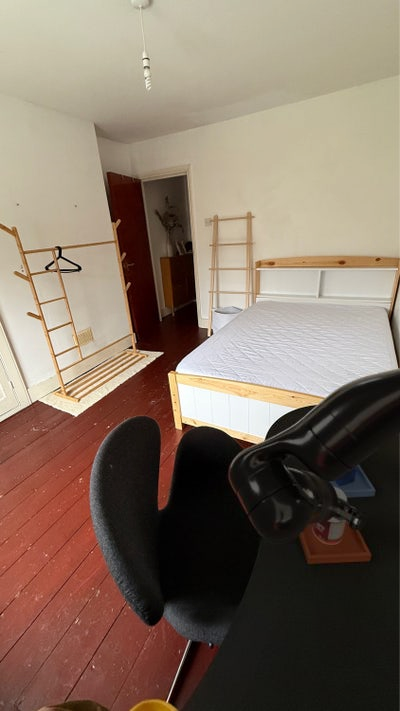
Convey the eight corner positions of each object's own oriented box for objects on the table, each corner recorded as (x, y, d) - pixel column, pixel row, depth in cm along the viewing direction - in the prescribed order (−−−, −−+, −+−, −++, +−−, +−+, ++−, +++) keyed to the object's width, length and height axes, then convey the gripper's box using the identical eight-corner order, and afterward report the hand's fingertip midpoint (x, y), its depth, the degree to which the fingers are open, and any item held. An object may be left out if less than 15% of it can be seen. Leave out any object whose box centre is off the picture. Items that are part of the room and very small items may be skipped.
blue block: (342, 469, 79) (344, 456, 77) (354, 481, 75) (357, 469, 73) (328, 473, 78) (330, 460, 76) (339, 486, 74) (341, 473, 72)
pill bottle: (305, 523, 66) (310, 487, 61) (330, 515, 67) (336, 479, 63) (322, 550, 61) (328, 513, 56) (348, 541, 62) (357, 504, 57)
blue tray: (352, 461, 82) (353, 456, 81) (374, 496, 72) (375, 490, 71) (311, 463, 82) (312, 458, 81) (327, 498, 72) (328, 493, 71)
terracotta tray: (342, 506, 70) (343, 500, 69) (369, 561, 59) (371, 554, 58) (290, 509, 70) (291, 503, 69) (307, 564, 59) (308, 558, 58)
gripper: (363, 500, 43) (376, 502, 55) (277, 453, 52) (304, 464, 64) (344, 550, 42) (361, 542, 54) (259, 493, 51) (290, 497, 63)
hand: (330, 499), depth 59 cm, fingers open, 8 cm apart
